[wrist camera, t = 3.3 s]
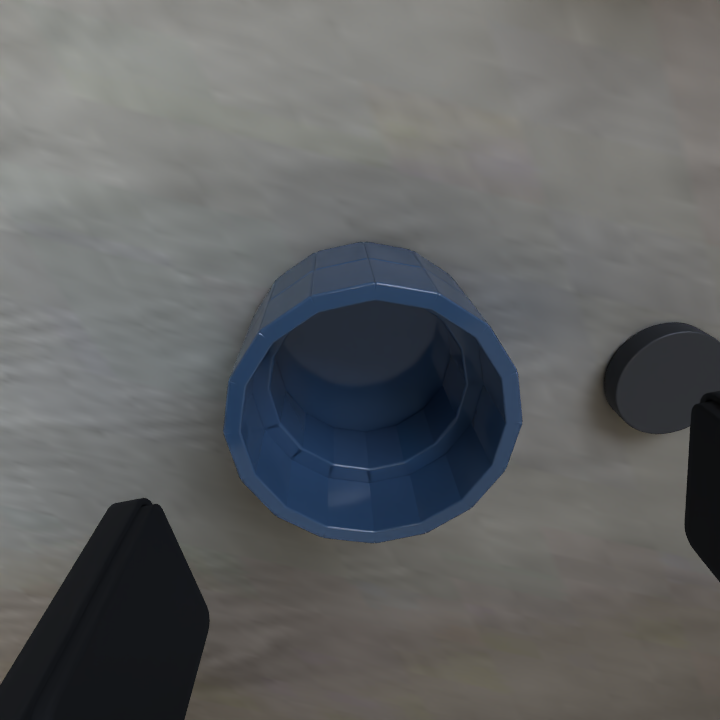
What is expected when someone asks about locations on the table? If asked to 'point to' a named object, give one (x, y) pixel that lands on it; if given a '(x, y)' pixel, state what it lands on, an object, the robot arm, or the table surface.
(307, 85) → the table surface
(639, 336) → the spoon
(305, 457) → the bowl
